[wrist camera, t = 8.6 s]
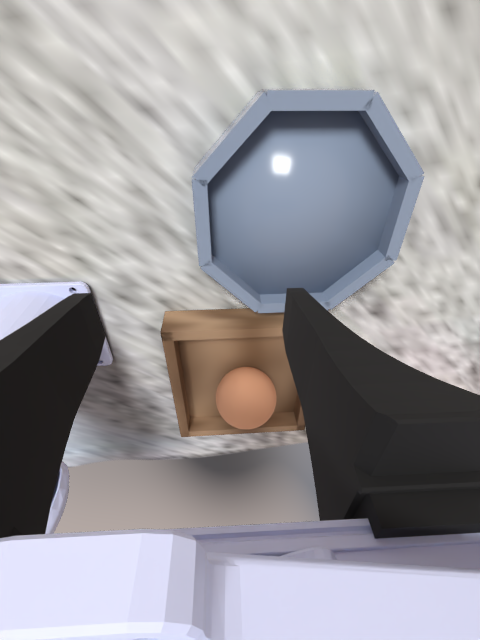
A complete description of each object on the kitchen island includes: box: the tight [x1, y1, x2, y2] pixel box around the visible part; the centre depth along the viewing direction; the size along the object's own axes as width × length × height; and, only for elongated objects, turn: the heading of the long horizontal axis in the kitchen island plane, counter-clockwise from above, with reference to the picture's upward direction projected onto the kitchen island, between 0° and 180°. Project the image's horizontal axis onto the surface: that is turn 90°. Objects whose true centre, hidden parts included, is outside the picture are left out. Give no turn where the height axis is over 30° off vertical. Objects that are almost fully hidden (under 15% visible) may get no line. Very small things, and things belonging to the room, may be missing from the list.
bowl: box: [192, 89, 424, 313], centre depth 19 cm, size 13×13×2 cm
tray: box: [161, 308, 305, 437], centre depth 28 cm, size 12×13×3 cm
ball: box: [216, 367, 277, 429], centre depth 26 cm, size 5×5×5 cm
